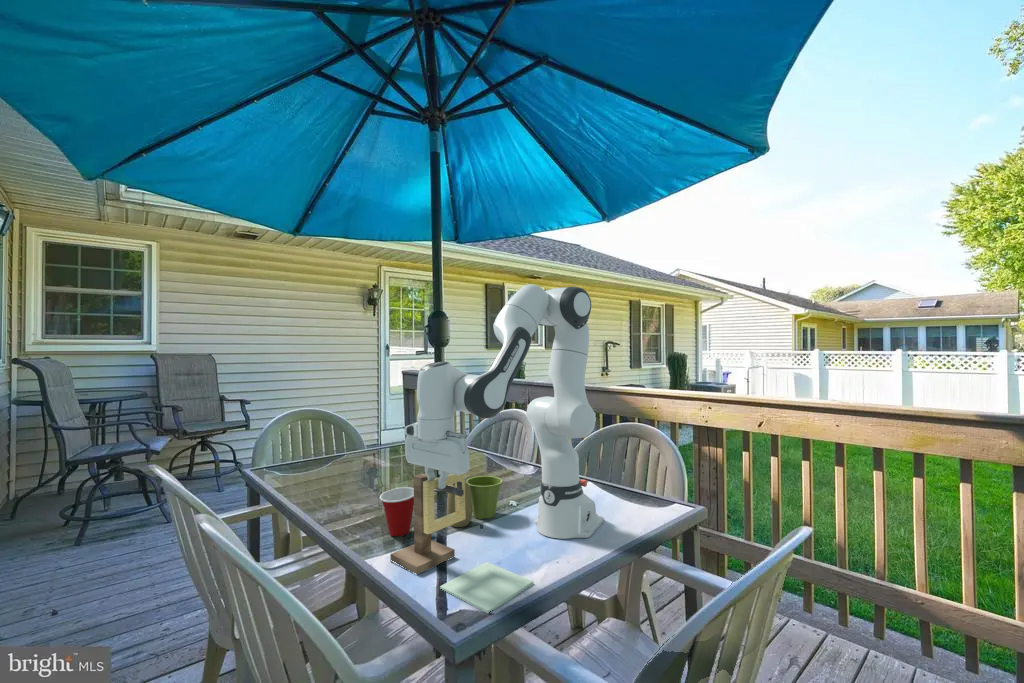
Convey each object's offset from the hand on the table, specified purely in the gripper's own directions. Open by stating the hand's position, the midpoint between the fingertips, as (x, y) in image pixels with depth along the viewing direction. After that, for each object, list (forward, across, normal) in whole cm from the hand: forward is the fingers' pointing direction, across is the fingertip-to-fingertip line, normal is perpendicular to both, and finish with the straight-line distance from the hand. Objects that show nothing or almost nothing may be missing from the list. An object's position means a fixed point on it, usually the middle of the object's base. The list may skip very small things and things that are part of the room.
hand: (436, 486), depth 108 cm
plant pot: (+21, +18, -34) cm, 44 cm away
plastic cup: (+21, +28, -8) cm, 36 cm away
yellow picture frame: (+10, 0, -2) cm, 10 cm away
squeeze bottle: (+21, +19, -24) cm, 38 cm away
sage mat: (+21, -13, -4) cm, 25 cm away
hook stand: (+21, +4, -3) cm, 21 cm away
